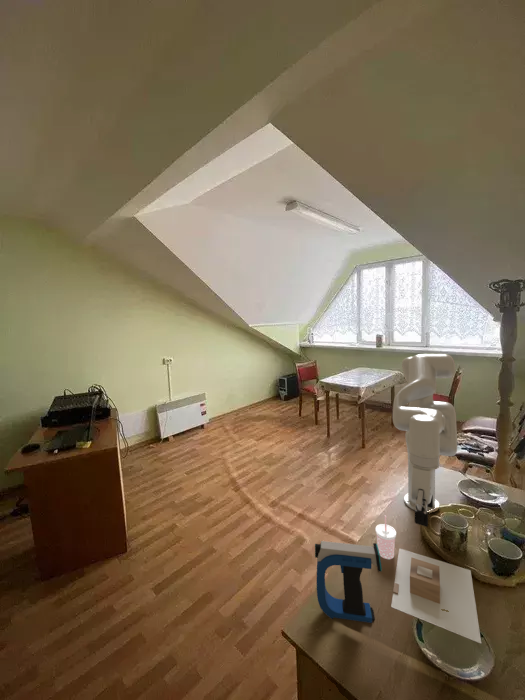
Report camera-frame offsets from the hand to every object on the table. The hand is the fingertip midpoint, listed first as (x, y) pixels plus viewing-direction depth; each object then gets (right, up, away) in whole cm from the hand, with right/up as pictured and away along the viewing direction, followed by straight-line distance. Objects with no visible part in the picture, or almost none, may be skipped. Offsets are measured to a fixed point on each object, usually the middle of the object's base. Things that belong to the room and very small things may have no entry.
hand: (424, 514), depth 85 cm
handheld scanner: (-25, -21, -9) cm, 34 cm away
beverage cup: (-8, -18, +8) cm, 22 cm away
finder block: (-2, -18, -4) cm, 18 cm away
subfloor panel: (0, -19, -4) cm, 19 cm away
